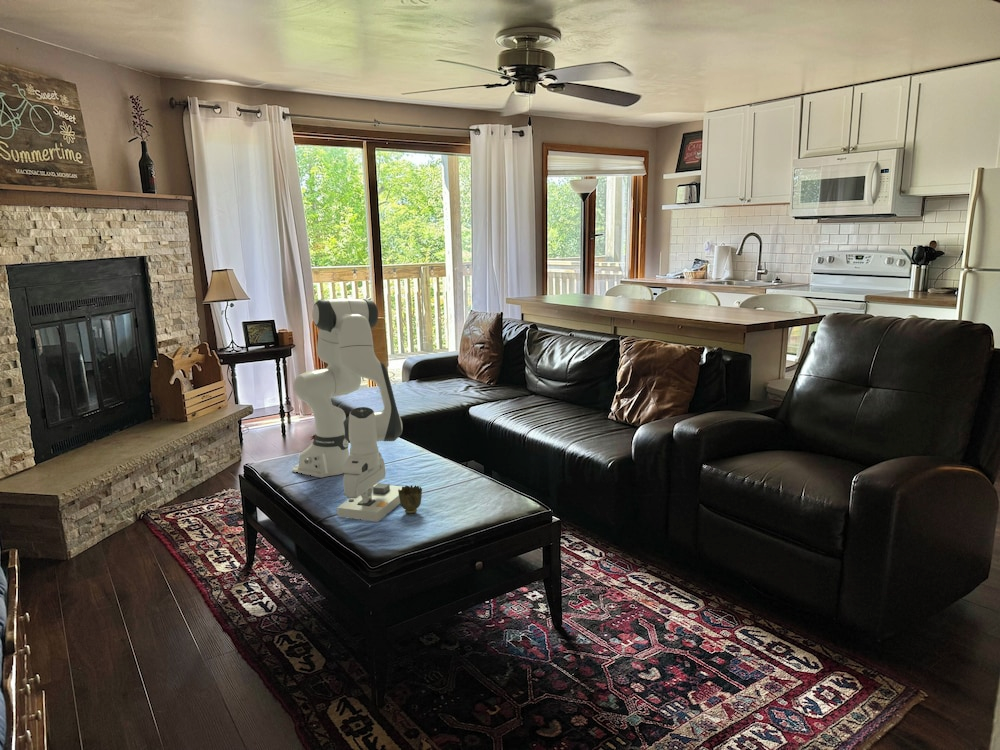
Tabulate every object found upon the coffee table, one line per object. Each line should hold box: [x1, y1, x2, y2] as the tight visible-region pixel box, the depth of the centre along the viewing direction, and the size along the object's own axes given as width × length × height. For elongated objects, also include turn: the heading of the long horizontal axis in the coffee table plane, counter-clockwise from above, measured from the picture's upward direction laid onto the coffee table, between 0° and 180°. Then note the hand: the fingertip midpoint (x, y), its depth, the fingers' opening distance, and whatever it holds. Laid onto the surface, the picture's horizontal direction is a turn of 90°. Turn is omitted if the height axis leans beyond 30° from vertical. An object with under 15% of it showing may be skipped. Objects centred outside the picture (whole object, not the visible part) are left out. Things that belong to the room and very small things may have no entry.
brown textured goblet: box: [398, 485, 423, 515], centre depth 207 cm, size 8×7×8 cm
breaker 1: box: [358, 499, 375, 506], centre depth 209 cm, size 4×4×3 cm
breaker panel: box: [336, 483, 403, 523], centre depth 213 cm, size 14×22×3 cm, turn 162°
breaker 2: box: [373, 482, 391, 495], centre depth 218 cm, size 4×4×3 cm
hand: (367, 501), depth 208 cm, fingers closed, pressing on breaker 1
